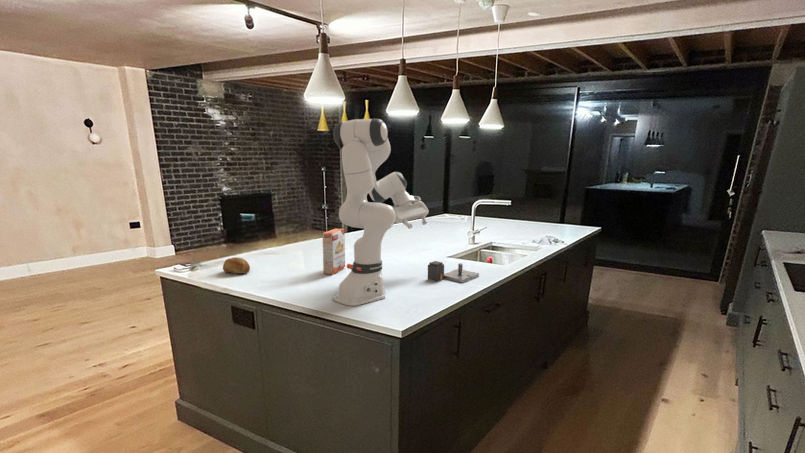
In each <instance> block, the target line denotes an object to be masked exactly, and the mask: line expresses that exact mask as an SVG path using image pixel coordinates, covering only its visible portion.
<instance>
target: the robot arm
mask: <svg viewBox="0 0 805 453" xmlns="http://www.w3.org/2000/svg"><path fill="white" fill-rule="evenodd" d="M387 126H388V125H387V124H386V123H385V121H383V120H382V119H380V118H361V119H360V118H356V119H350V120H343V121H339V122H337V123H336V124H335V125H334V128H333V132H332V133H333V134H332V137H333V140H334V142H335V145H336V146H337V147H338V148H339V149H340V150H341V164H342V170H343V176H344V180H345V185H346V186H345V187H346V197H345V201H344V202H343V203H342V204H341V206H340V207H339V210H338V218H339V221H340V222H341V224H343V225H345V226H348V227H351V228H357V229H363V234H362V237H360V238H358V239H357V240H356V241H355V243H354V244H353V253H354V256H353V257H354V261H353V262H352V264H350V263H347V264H346V265H345V268H347V269H348V270H351V271H350V272H349V273H348V275H347V276H345V278H344V279H343V280H342V281H341V282H340V284H339V286H338V292H337V294H334V295H333V296H332V300H333V301H335V303H338V304H341V305H346V306H352V307H357V306H361V305H363V304H369V303H371V302H375V301H380V300H383V299H386V290H385V286H384V281H383V276H382V275H383V274H382V270H383V261H382V256H381V255H382V243H383V239H384V236H385V234H386V233H387V231H388V230H390V229H391V228H392V227H393V226H394V224H395V223H396V224H403V225H404V226H406V227H407V228H408V230H409V229H412V228H413V224H412V223H409V221H412V220H413V221H414V220H417V219H421V224H422V225H427V223H428V222H427V220H426V217H427V215H428V214H430V213H429V209H428V207H427V206H426V204H425V203H424V202H423V201H421V200H422V199H421V197H420V196H418V195H417V196H416V195H412V194H411V195H410V193H409V192H407V190H406V189H407V185H408V182H407V180H406V179H405V177H404V176H403V174H402V173H401V172H400V171H393V172H391V173H389V174H388V175H385V176H384V177H383V178H381V179H379V180H377V177H376V172H377V170H378V168H379V167H380V166H381V165H382V164H383V163H385V162H386V161H387V160H388V158H389V156H390V154H391V152H392V151H391V150H392V148H391V144H390V141H389V137H388V135H389V134H388V127H387ZM368 194H369V196H370V198H371V200H372V201H373V202H372V201H371V202H370V201H368V198H367V197H368ZM389 198H390V199H391V200H392V203H393V205H389V204H386V203H384V202H385V201H386V200H388V199H389Z"/></svg>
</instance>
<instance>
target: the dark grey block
mask: <svg viewBox="0 0 805 453" xmlns="http://www.w3.org/2000/svg"><path fill="white" fill-rule="evenodd" d="M444 274H445V264H444V263H443V262H442V261H437V260H434V261H430V262H429V264H427V280H429V281H433V282H440V281H442V280H445V279H444Z"/></svg>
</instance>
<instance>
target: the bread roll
mask: <svg viewBox="0 0 805 453" xmlns="http://www.w3.org/2000/svg"><path fill="white" fill-rule="evenodd" d="M248 262H249V261H247V260H246V259H245V258H242V257H236V256H235V257H231V258H227V259H225V260H224V262H223V266H222V270H223V272H225V273H228V272H231V273H230V274H237V273H245V274H247V273H246V272H248V273H249V272H250V269H251V266H250V264H249V263H248Z"/></svg>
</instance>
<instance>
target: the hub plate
mask: <svg viewBox="0 0 805 453" xmlns="http://www.w3.org/2000/svg"><path fill="white" fill-rule="evenodd" d="M479 277H480V273H479V272H475V271H474V272H473V271H470V270H465V269H463V263H458V266H457V269H454V270H451V271H449V272H446V273H445V272H444V279H443V280H448V281H453V282H456V283H460V284H464V283H466V282H468V281H470V280H471V281H472V280H473V279H476V278H479Z"/></svg>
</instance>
